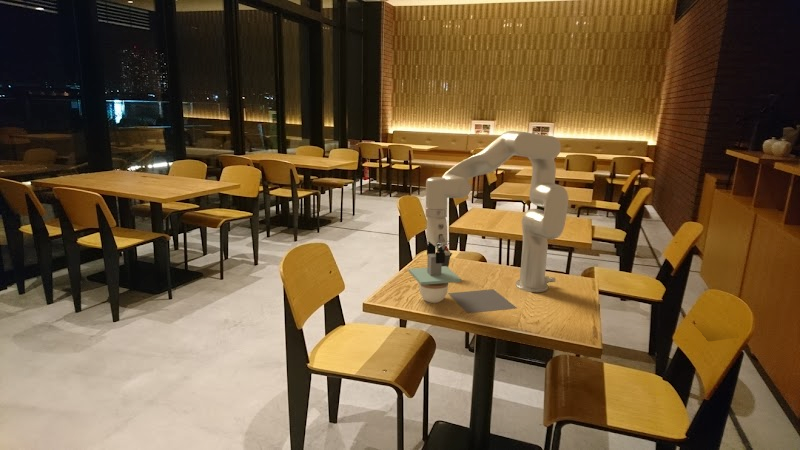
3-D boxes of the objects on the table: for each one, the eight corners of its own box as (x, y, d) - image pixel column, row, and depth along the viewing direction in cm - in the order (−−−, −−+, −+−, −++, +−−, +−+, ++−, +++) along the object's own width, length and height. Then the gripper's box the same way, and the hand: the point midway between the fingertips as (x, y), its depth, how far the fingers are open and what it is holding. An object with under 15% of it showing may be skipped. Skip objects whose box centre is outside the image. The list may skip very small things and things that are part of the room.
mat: (493, 290, 186) (493, 289, 186) (517, 309, 168) (517, 308, 168) (447, 294, 181) (447, 293, 181) (467, 314, 163) (467, 313, 163)
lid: (446, 268, 182) (446, 248, 180) (461, 281, 168) (462, 260, 166) (408, 271, 178) (408, 250, 176) (420, 285, 164) (421, 262, 162)
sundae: (452, 279, 198) (453, 244, 194) (436, 278, 198) (437, 244, 194) (450, 274, 204) (452, 240, 200) (435, 273, 204) (436, 240, 201)
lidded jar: (446, 307, 169) (447, 282, 167) (416, 304, 171) (416, 280, 169) (449, 296, 179) (450, 272, 177) (421, 294, 181) (421, 270, 179)
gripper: (455, 217, 160) (454, 265, 164) (438, 207, 176) (437, 251, 180) (434, 218, 158) (433, 267, 162) (418, 208, 174) (418, 253, 179)
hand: (435, 258), depth 171 cm, fingers open, 9 cm apart
